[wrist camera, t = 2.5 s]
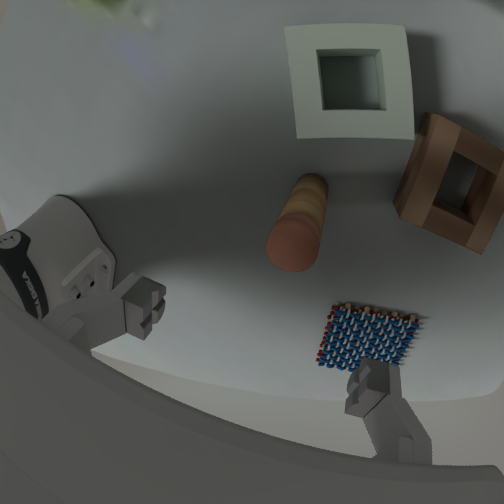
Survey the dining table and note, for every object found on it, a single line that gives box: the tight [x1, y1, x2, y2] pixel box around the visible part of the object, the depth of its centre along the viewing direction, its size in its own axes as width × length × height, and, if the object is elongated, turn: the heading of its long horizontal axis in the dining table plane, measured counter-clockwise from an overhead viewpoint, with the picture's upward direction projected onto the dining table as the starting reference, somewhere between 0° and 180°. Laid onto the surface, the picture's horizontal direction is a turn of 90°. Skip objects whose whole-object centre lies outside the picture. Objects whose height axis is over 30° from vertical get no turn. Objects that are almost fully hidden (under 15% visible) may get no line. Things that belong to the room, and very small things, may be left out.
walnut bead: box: [393, 112, 504, 255], centre depth 21 cm, size 9×9×4 cm
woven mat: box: [316, 302, 419, 372], centre depth 33 cm, size 10×11×2 cm
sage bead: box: [284, 23, 414, 140], centre depth 20 cm, size 9×9×4 cm
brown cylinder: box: [266, 173, 328, 272], centre depth 22 cm, size 3×3×12 cm
